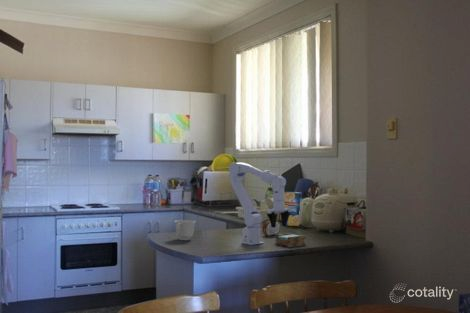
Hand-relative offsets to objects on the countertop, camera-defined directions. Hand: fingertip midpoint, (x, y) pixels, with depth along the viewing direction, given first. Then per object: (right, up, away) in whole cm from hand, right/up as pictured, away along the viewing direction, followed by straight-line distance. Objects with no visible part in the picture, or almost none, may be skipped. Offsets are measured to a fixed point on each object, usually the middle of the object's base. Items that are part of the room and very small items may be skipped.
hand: (278, 226), depth 261 cm
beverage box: (+17, -11, +84) cm, 87 cm away
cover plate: (+7, -7, +6) cm, 11 cm away
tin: (-1, -10, +38) cm, 39 cm away
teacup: (-50, -10, +16) cm, 54 cm away
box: (+6, -10, +5) cm, 13 cm away
